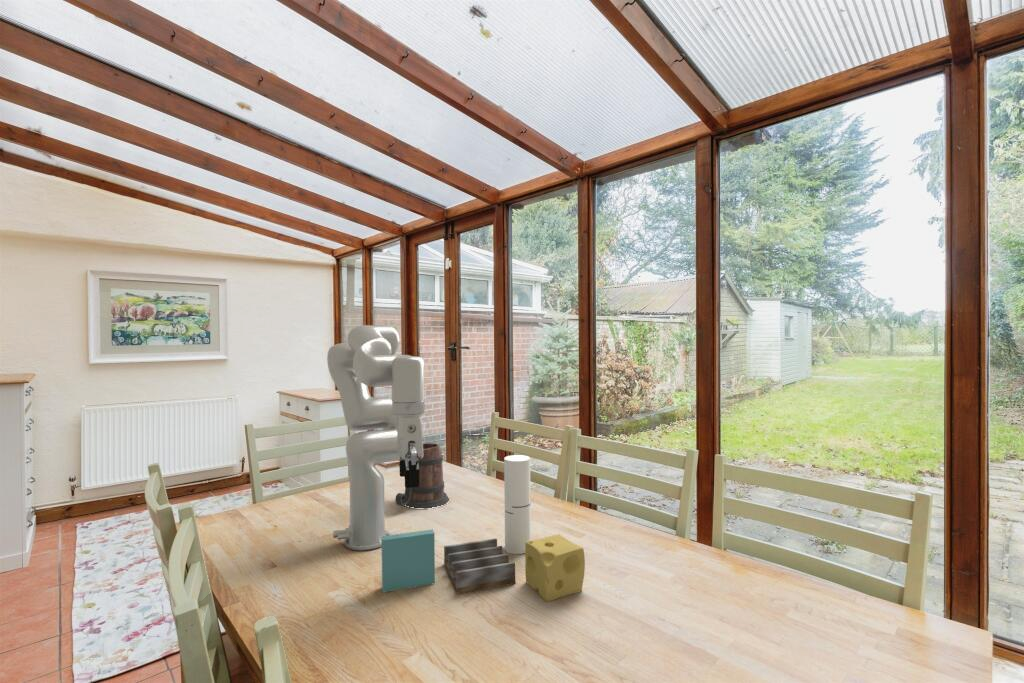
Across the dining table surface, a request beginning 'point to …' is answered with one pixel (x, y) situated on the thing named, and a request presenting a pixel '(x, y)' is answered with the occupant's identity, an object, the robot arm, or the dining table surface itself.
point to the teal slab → (408, 560)
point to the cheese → (554, 566)
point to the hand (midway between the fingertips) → (409, 481)
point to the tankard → (427, 481)
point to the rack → (478, 566)
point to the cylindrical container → (517, 503)
